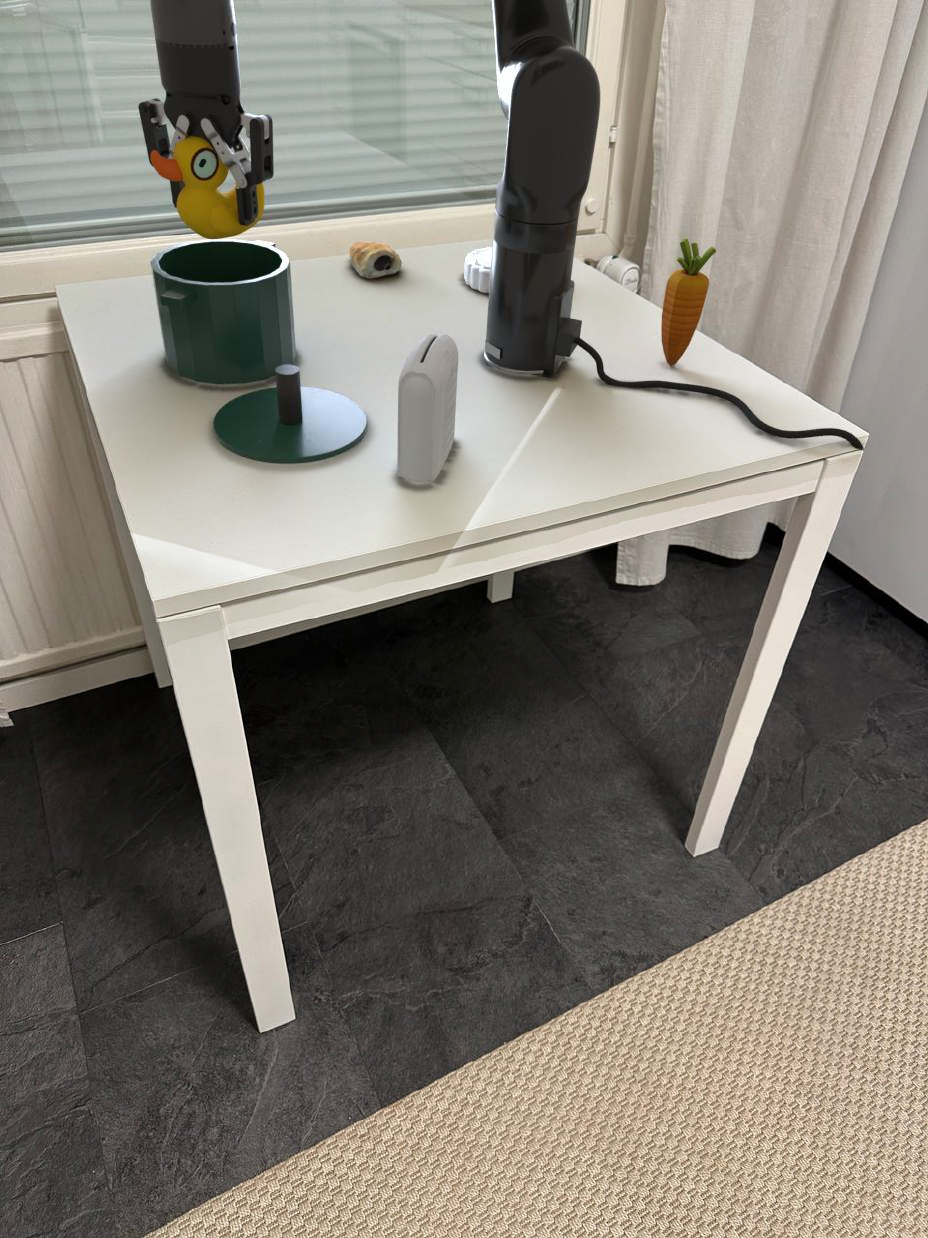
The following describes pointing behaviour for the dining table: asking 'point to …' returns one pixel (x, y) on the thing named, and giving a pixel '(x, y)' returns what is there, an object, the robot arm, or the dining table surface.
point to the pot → (225, 310)
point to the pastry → (374, 259)
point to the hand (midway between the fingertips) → (216, 217)
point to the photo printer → (427, 407)
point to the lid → (290, 422)
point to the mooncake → (478, 269)
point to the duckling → (204, 189)
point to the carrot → (684, 301)
